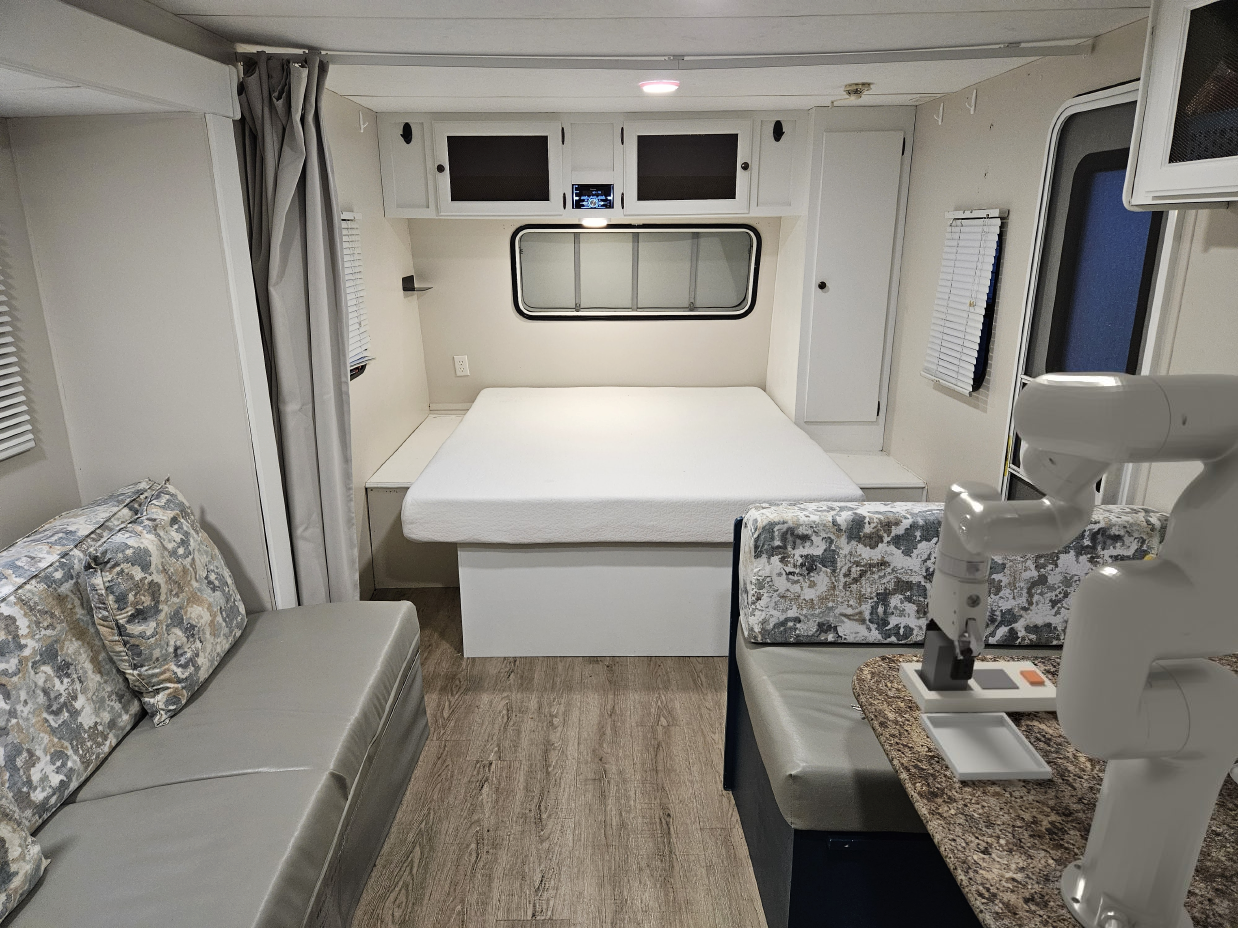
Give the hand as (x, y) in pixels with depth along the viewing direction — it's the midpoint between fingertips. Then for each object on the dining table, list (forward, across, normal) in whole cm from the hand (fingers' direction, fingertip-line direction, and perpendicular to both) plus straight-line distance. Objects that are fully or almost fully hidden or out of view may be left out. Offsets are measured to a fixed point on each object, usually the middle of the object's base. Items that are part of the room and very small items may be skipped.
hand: (946, 661), depth 124 cm
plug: (+6, 0, 0) cm, 6 cm away
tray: (+6, -14, 0) cm, 15 cm away
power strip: (+6, 0, -6) cm, 9 cm away
